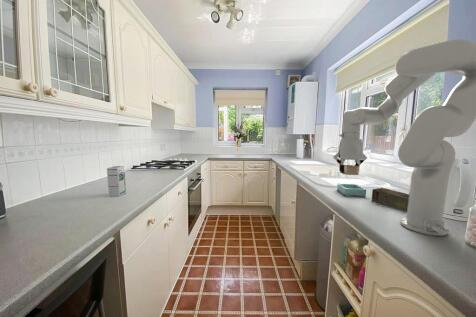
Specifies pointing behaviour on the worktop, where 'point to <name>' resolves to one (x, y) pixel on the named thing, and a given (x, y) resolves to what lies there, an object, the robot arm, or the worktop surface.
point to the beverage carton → (390, 198)
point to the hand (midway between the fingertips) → (349, 172)
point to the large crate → (351, 190)
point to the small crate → (351, 170)
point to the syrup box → (116, 181)
